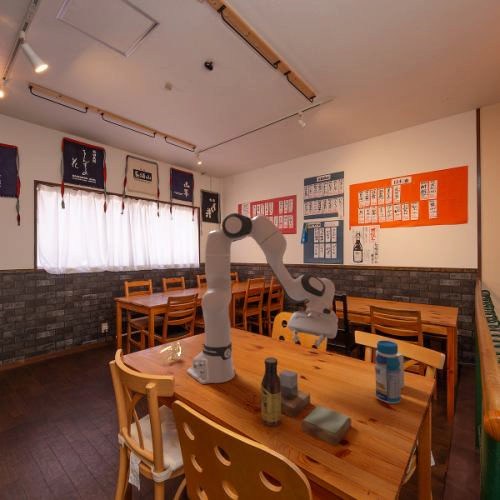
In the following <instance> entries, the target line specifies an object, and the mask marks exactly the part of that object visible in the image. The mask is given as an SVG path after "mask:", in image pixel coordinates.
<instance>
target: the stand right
mask: <svg viewBox="0 0 500 500" xmlns="http://www.w3.org/2000/svg"><path fill="white" fill-rule="evenodd" d="M300 423H301V427H300V428H301V429H300V430H301V431H303V432H305V433H307V434H310V435H311V436H314V437H316V438H318V439H320V440H322V441H324V440H325V442H326V443H330V444H331V445H333V444H334V445H333V446H335V445H336V447H338V445H339V444H340V442H342V440H343V438H344V437H345V436H346V434H347V433H348V431H349V430H350V429H351V427H352V418H351V417H350V416H348V415H345V414H343V413H340V412H337V411H335V410H332V409H330V408H326V407H324V406H322V405H317V406H316V407H315V408H313V410H312V411H311V412H310V413H309V414H308V415H306V417H304V418H303V419H302V420H301V422H300ZM341 439H342V440H341ZM338 443H339V444H338Z"/></svg>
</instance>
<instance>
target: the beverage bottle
mask: <svg viewBox="0 0 500 500" xmlns="http://www.w3.org/2000/svg"><path fill="white" fill-rule="evenodd" d="M398 349H399V348H398V343H396V342H394V341H391V340H378V341H377V343H376V351H377V350H378V352H379V353H378V354H377V356H376V355H375V359H374V361H375V366H374V370H375V397H376V398H377V399H379V400H380V401H381V402H384V403H387V404H393V405H394V404H395V405H396V404H398V403H400V402H401V401H402V395H401V393H402V391H401V389H402V388H401V385H400V374H401V369H400V367H399V366H400V361H399V359H398V357H397V356H396V355H397V353H399V351H398Z"/></svg>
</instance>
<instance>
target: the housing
mask: <svg viewBox="0 0 500 500" xmlns="http://www.w3.org/2000/svg"><path fill="white" fill-rule="evenodd" d="M278 376H279V378H280V381H281V397H284V398H286V399H289V400H293V399H294V398H296V397H297V396H298V387H299V386H298V372H296V371H291V370H289V369H287V368H285V369H283V370H281V371H280V372H279V373H278Z"/></svg>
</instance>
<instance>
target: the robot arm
mask: <svg viewBox="0 0 500 500" xmlns="http://www.w3.org/2000/svg"><path fill="white" fill-rule="evenodd" d="M247 237H251V238H252V239H253V240H254V241H255V242H256V244H257V245H258V246H259V248H260V249H261V251H262V252H263V254H264V256H265V260H266V263H267V265H268V267H269V269H270V270H271V271H272V273H273V275H274V277H275V278H276V280H277V282H278V283H279V285H280V287H281V289H282V291H283V294H284V296H285V298H286V299H287V300H288V301H289V302H291V303H293V304H298V303H301V302H303V301H304V300H306V299H307V300H308V304H307V306H306V309H305V311H303V310H302V311H301V310H297V311H294V312H293V313H292V315H291V317H290V318H289V320H288V322H287V324H286V325H287V327H288V329H289V331H290V332H292V333H293V338H292V340H293V342H296V343H297V342H299V339H300V337H299V336H298V335H299V333H300V334H304V335H305V334H306V335H312V336H317V337H319V338H318V339H315V340H314V346H315V347H318V348H319V347H320V346H321V343H323V342H324V341H325V340H326V339H332V340H333V339H335V338H336V336H337V333H338V327H339V326H338V323H339V318H338V316H337V314H336V313H335V311H334V310H333V309H330V306H331V305H332V304H333V300H334V297H335V294H336V293H335V292H336V288H335V287H336V286H335V284H334V282H333V281H332V280H330V279H329V278H326V277H323V278H321V277H317V276H316V275H315V274H313V273H309V272H306V273H304V274H302V275H300V276H298V277H297V278H295V279H294V278H293V277H292V275H291V274H290V273H289V271H288V269H287V267H286V266H285V264H284V255H285V253H286V249H287V239H286V237H285V236H284V235H283V232H282V231H281V230H280V229H279V228H278V226H277V225H276V224H274V222H272V220H271V219H270V218H268V217H267V216H266V215H264V214H258V215H255V216H254V217H251V218H250V217H249V216H246V215H243V214H240V213H237V212H233V213H229V214H227V215H226V216H224V218H223V219H222V222H221V229H214V230H210V231H209V233H207V236H206V243H205V247H204V249H205V252H204V274H205V280H206V289H207V290H206V292H204V294H203V295H202V297H201V309H202V316H203V321H204V336H205V337H204V339H205V340H204V341H205V342H204V343H201V345H200V346H201V348H202V347H203V349H202V351H200V353H199V354H197V355H196V356H194V358H193V360H192V366H190V367H189V368H188V369H187V370H186V373H187V375H189V376H191V377H192V378H194V379H195V380H196V381H198V382H199V383H200V384H203V385H205V384H221V383H225V382H228V381H231V380H233V379H234V378H235V376H236V373H235V366H234V362H233V354H232V352H233V351H232V350H233V345H232V340H231V338H232V337H231V321H230V313H229V310H230V309H229V307H230V306H229V305H230V304H231V301H232V278H231V246H232V243H234V242H237V241H240V240H243V239H246V238H247Z"/></svg>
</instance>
